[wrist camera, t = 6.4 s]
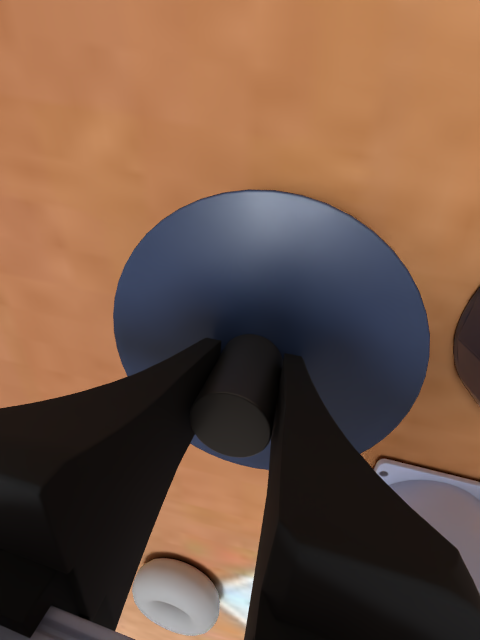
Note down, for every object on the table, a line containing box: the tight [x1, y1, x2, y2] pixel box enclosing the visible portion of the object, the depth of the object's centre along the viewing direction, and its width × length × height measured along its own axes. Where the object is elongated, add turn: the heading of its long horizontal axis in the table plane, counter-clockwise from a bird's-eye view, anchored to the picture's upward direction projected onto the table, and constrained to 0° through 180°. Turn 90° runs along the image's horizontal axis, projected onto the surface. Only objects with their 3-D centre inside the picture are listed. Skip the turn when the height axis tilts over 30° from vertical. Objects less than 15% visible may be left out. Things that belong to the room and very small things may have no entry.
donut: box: [132, 558, 220, 636], centre depth 31 cm, size 10×4×10 cm
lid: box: [113, 190, 430, 470], centre depth 10 cm, size 12×12×5 cm
